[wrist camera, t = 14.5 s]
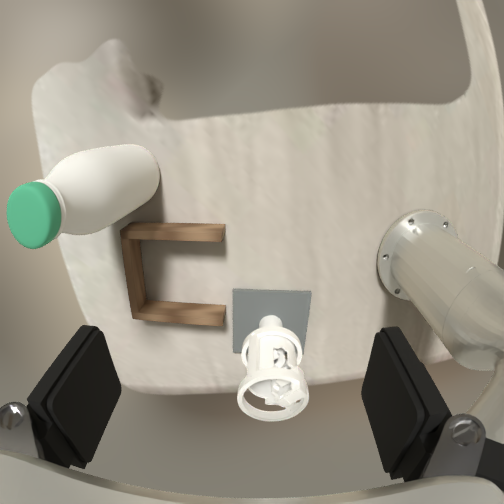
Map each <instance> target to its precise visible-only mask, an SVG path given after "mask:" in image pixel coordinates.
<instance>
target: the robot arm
mask: <svg viewBox="0 0 504 504" xmlns="http://www.w3.org/2000/svg"><path fill="white" fill-rule="evenodd" d="M409 219H410V221H409ZM408 221H409V222H408ZM384 255H385V256H384ZM377 266H378V273H379V276H380V279H381V281H382V283H383V284H384V286H385V287H386V288H387V290H388V291H389V292H390V293H391V294H392V295H394V296H395V297H398V298H400V299H403V300H408V301H412V303H413V304H414V305H415V307H416V308H417V309H418V310H419V312H420V313H421V314H422V316H423V317H424V318H425V320H426V321H427V322H428V324H429V325H430V326H431V328H432V329H433V330H434V332H435V333H436V335H437V336H438V337H439V339H440V340H441V341H442V343H443V344H444V346H445V347H446V349H447V350H448V351H449V353H450V354H451V355H452V357H453V358H454V359H455V360H456V361H457V362H458V363H459V364H461V365H463V366H465V367H466V368H470V369H473V370H494V374H493V376H492V378H491V380H490V381H489V383H488V384H487V385H486V387H485V388H484V389H483V391H482V393H481V394H480V396H479V397H478V398H477V399H476V401H475V402H474V403H473V404H472V406H471V407H470V408H469V409H468V410H467V411H466V413H463V414H456V415H454V416H452V415H451V412H450V410H449V409H448V407H447V405H446V403H445V401H444V399H443V398H442V396H441V394H440V392H439V390H438V389H437V387H436V385H435V383H434V382H433V380H432V378H431V376H430V375H429V373H428V371H427V370H426V368H425V366H424V365H423V363H422V362H420V361H419V359H418V358H417V356H416V354H415V353H414V351H413V349H412V348H411V346H410V344H409V343H408V341H407V340H406V338H405V336H404V335H403V333H402V331H401V330H400V328H399V327H387V328H382V329H381V330H380V332H378V333H376V335H375V338H374V343H373V347H372V351H371V355H370V359H369V363H368V367H367V371H366V375H365V379H364V382H363V386H362V391H361V395H362V400H363V403H364V406H365V409H366V412H367V415H368V418H369V422H370V425H371V428H372V431H373V435H374V438H375V441H376V444H377V448H378V451H379V455H380V458H381V462H382V465H383V469H384V471H385V472H386V473H388V472H389V473H390V477H391V479H392V480H393V479H397V478H402V477H403V479H404V483H398V484H394V485H389V486H384V487H378V488H373V489H367V490H361V491H354V492H346V493H339V494H331V495H322V496H311V497H296V498H270V499H269V498H266V499H254V498H253V499H252V498H250V499H249V498H224V497H209V496H198V495H189V494H180V493H172V492H166V491H160V490H154V489H148V488H143V487H138V486H133V485H128V484H124V483H119V482H115V481H111V480H107V479H103V478H99V477H96V476H92V475H88V474H85V473H82V472H79V471H75V470H72V469H69V467H70V465H73V466H76V467H79V468H82V469H85V467H86V464H87V462H88V463H89V462H91V461H92V459H93V456H94V454H95V451H96V449H97V447H98V444H99V442H100V440H101V437H102V435H103V433H104V430H105V428H106V426H107V424H108V421H109V419H110V417H111V415H112V412H113V410H114V408H115V406H116V403H117V401H118V399H119V397H120V395H121V384H120V381H119V378H118V376H117V373H116V370H115V367H114V364H113V361H112V358H111V355H110V352H109V349H108V346H107V343H106V340H105V336H104V334H103V332H102V331H100V330H99V328H98V327H96V326H87V325H82V326H81V327H80V328H79V329H78V331H77V332H76V333H75V335H74V336H73V337H72V338H71V340H70V341H69V342H68V344H67V345H66V346H65V348H64V349H63V350H62V351H61V353H60V354H59V355H58V357H57V358H56V359H55V361H54V362H53V363H52V365H51V366H50V367H49V369H48V370H47V371H46V373H45V374H44V376H43V377H42V378H41V380H40V381H39V383H38V384H37V385H36V387H35V388H34V390H33V391H32V393H31V394H30V395H29V397H28V398H27V401H28V402H29V404H28V405H27V407H26V406H25V405H24V404H22V403H20V402H9V403H7V404H5V405H3V406H2V407H1V408H0V504H504V270H503V269H501V268H500V267H498V266H497V265H496V264H494V263H493V262H491V261H490V260H489V259H487V258H486V257H484V256H483V255H481V254H480V253H479V252H477V251H476V250H474V249H473V248H471V247H470V246H468V245H467V244H465V243H464V242H462V241H461V240H459V239H458V235H457V232H456V230H455V228H454V226H453V225H452V223H451V222H450V221H449V220H448V219H447V218H446V217H445V216H443V215H441V214H439V213H437V212H434V211H431V210H418V211H414V212H411V213H408V214H406V215H405V216H403V217H401V218H400V219H399V220H398V221H396V222H395V223H394V224H393V225H392V227H391V228H390V229H389V230H388V231H387V233H386V235H385V237H384V238H383V240H382V243H381V245H380V248H379V253H378V261H377Z"/></svg>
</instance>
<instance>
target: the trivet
mask: <svg viewBox="0 0 504 504" xmlns="http://www.w3.org/2000/svg"><path fill="white" fill-rule="evenodd" d="M311 294H312V293H311V291H283V290H253V289H233V352H235V353H242V345H243V342H244V340H245V339H246V337H247V336H248V335H249V334H250V333H251V332H253V331H255V330H256V329H259V323H260V321H261V319H262V318H264V317H265V316H269V315H274V316H277V317H278V318H280V320H281V321H282V327H283V328H286V329H288V330H290V331H292V332H293V333H294V334H295V335H296V336H297V337H298V338H299V340H300V343H301V348H302V354H303V352H304V346H305V339H306V332H307V325H308V317H309V310H310V302H311ZM294 345H295V344H294ZM248 348H249V346H248ZM248 348H247V350H246V353H248ZM295 352H296V353H297V347H296V346H295ZM285 354H287V351H285Z"/></svg>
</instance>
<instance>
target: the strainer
mask: <svg viewBox="0 0 504 504" xmlns="http://www.w3.org/2000/svg"><path fill="white" fill-rule="evenodd" d="M294 344H295V345H294ZM248 346H249V348H248ZM295 346H296V347H297V353H296V352H295ZM247 348H248V356H247V353H246V350H247ZM285 351H287V359H286V360H285ZM241 356H242V361H243V363H244V365H245V366H246V368H247V376H246V377H245V378H244V379H243V380H242V381H241V383H240V385H239V388H238V398H237V400H238V405H239V407H240V408H241V410H242V411H243V412H244V413H245V414H247V415H248V416H250V417H253V418H255V419H258V420H262V421H282V420H286V419H289V418H292V417H294V416H296V415H297V414H299V413H300V412H301V411H303V410H304V408H305V407H306V405H307V404H308V401H309V392H308V386H307V383H306V381H305V378H304V372H303V370H302V369H301V368H300V367H299V366H298V365H299V363H300V361H301V358H302V348H301V343H300V340H299V338H298V337H297V336H296V335H295V334H294V333H293V332H292V331H290V330H288V329H286V328H283V327H282V321H281V320H280V318H278V317H277V316H274V315H269V316H265V317H264V318H262V319H261V321H260V323H259V329H256V330H255V331H253V332H251V333H250V334H249V335H248V336H247V337H246V339H245V340H244V342H243V345H242V354H241ZM247 388H248V389H249V390H250V391H251V392H252V393H253V394H254V395H256V396H258V397H261V398H264V399H265V404H267V405H278V406H279V405H280V406H281V407H285V408H286V409H284V410H281V411H263V410H259V409H257V408H254V407H253V406H251V405H250V404H249V403H248V402H247V401H246V400H245V398H244V396H243V394H244V392H245V391H246V389H247ZM300 399H301V400H300ZM297 400H300V402H297V403H296V401H297Z"/></svg>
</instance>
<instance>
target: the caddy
mask: <svg viewBox="0 0 504 504" xmlns="http://www.w3.org/2000/svg"><path fill="white" fill-rule="evenodd" d="M120 234H121V244H122V252H123V260H124V268H125V275H126V282H127V288H128V295H129V301H130V307H131V312H132V318H133V319H139V320H149V321H159V322H171V323H183V324H197V325H212V326H223V323H224V318H225V313H226V305H213V304H196V303H180V302H166V301H153V300H147V298H146V290H145V283H144V275H143V266H142V257H141V247H140V239H147V240H181V241H213V242H222V239H223V236H224V234H225V224H198V223H139V222H131V223H130V224H128V225H127V226H126V227H124V228H123V229H122V230H120Z"/></svg>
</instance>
